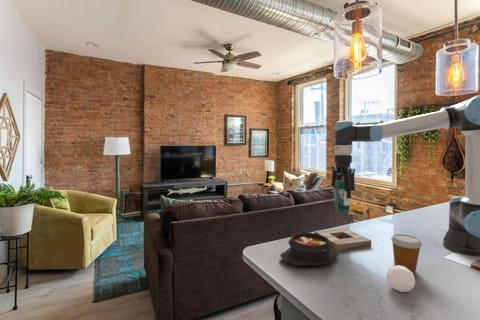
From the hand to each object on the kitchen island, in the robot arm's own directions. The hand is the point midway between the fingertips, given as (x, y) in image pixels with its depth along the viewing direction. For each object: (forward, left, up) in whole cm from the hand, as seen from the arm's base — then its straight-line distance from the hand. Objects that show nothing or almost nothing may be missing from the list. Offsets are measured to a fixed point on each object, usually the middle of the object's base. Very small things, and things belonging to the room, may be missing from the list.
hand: (342, 203), depth 122 cm
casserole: (-12, +24, -19) cm, 33 cm away
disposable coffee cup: (-30, -5, -19) cm, 36 cm away
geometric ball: (-40, +8, -19) cm, 45 cm away
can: (0, 0, -4) cm, 4 cm away
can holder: (0, 0, -18) cm, 18 cm away
